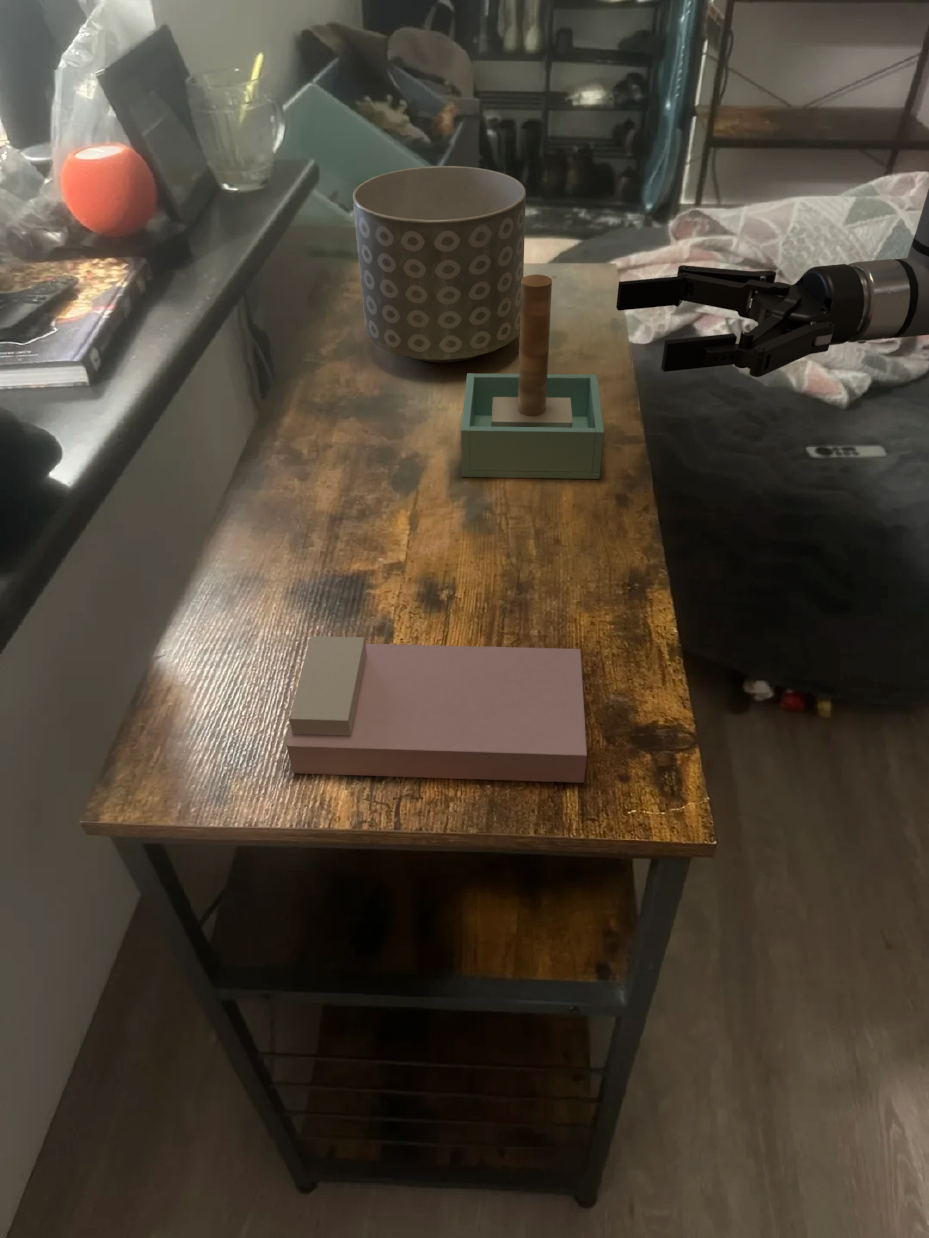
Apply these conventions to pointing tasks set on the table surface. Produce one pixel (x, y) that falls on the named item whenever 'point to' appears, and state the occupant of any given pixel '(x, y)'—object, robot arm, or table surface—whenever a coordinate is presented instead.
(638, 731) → the table surface
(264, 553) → the table surface
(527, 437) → the green open box
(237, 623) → the table surface
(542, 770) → the bed
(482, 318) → the planter
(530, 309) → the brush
